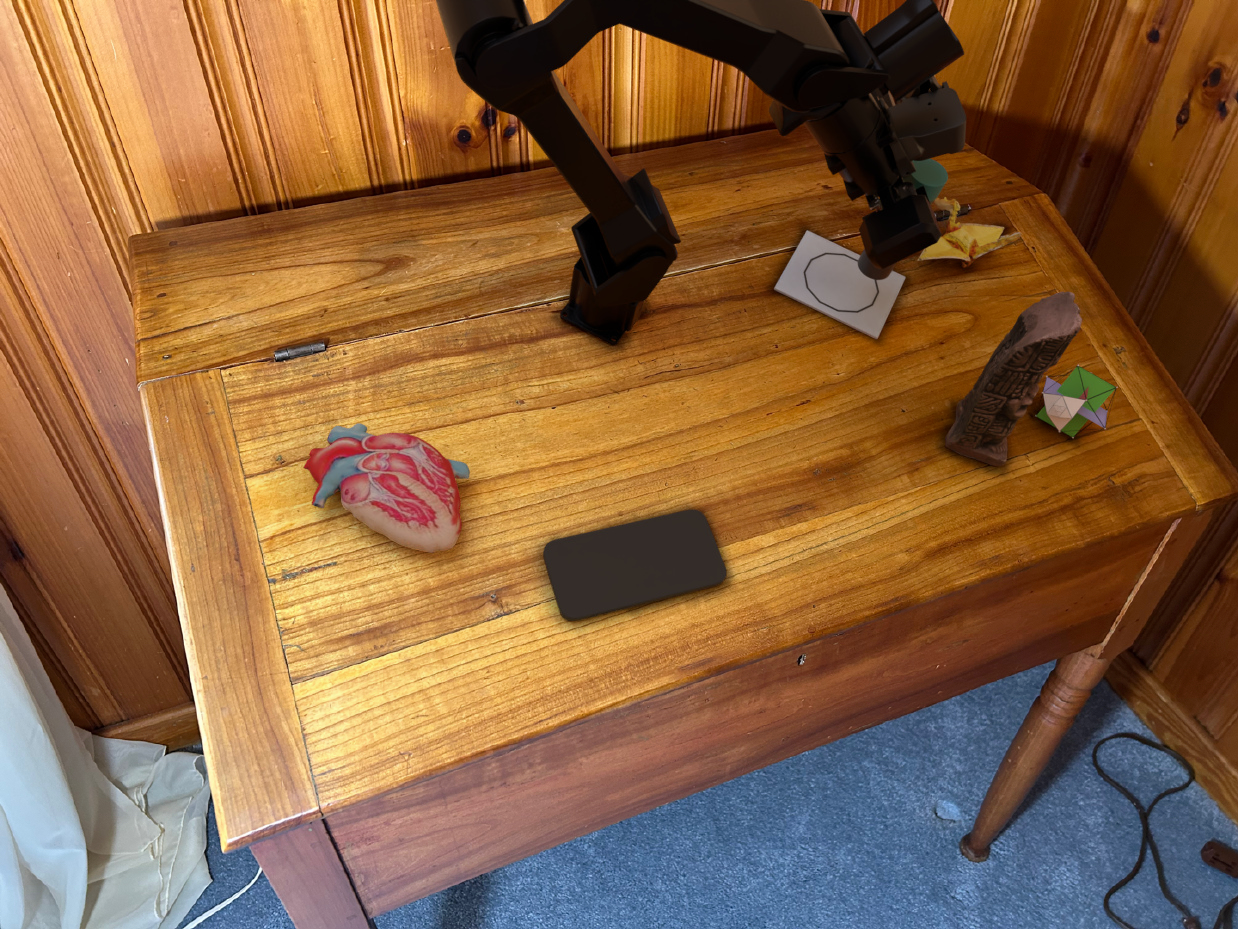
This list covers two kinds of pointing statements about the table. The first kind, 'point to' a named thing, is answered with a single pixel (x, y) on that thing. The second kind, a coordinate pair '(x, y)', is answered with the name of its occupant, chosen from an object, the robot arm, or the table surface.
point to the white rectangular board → (838, 285)
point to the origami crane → (965, 238)
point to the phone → (633, 564)
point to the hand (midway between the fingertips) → (912, 221)
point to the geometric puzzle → (1075, 401)
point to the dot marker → (926, 175)
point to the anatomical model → (392, 485)
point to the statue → (1013, 378)
